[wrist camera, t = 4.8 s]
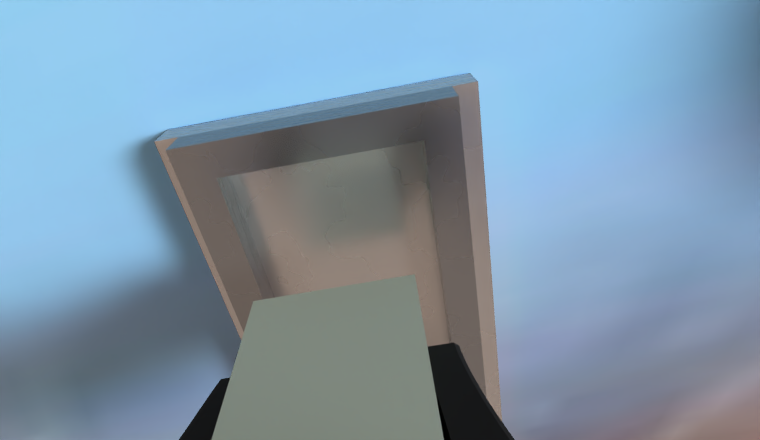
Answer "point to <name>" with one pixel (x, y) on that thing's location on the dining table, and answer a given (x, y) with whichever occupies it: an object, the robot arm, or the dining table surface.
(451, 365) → the robot arm
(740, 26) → the dining table surface
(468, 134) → the tray
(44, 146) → the dining table surface
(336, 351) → the pale green cuboid
